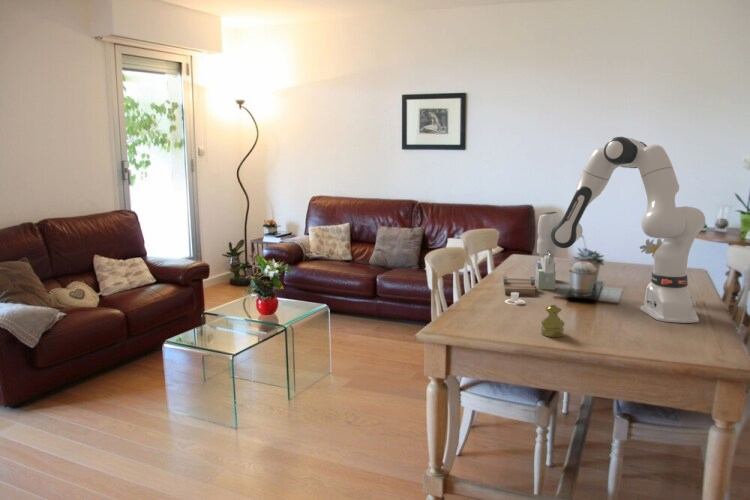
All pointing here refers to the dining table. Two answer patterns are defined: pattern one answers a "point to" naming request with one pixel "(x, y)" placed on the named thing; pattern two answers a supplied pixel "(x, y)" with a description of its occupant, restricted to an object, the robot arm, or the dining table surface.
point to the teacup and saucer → (515, 299)
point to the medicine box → (538, 266)
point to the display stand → (519, 286)
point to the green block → (541, 280)
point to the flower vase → (651, 248)
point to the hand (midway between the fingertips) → (546, 280)
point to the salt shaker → (552, 323)
